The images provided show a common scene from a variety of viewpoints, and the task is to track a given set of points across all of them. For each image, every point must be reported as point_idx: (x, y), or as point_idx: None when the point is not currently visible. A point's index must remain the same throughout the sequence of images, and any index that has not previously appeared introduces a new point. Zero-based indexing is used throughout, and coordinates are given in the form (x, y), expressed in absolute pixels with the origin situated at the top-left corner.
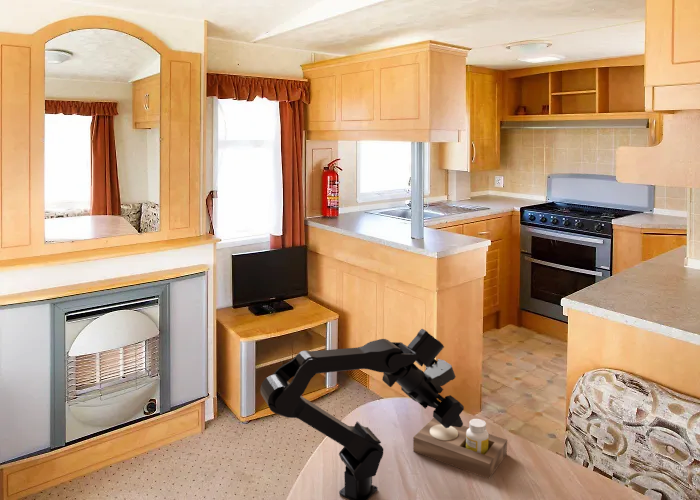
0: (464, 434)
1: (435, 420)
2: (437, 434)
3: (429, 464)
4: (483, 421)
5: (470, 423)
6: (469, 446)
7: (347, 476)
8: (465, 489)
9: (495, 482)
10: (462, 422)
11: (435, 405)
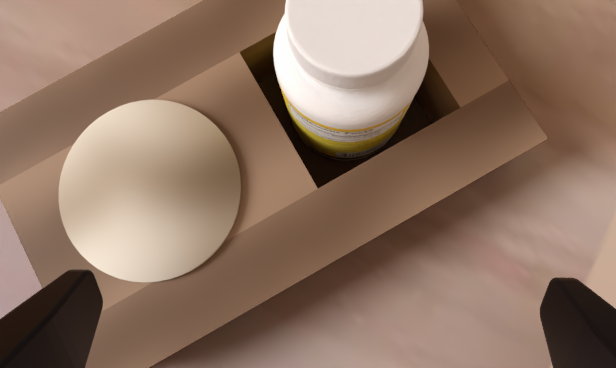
0: (227, 84)
1: (7, 153)
2: (153, 243)
3: (277, 358)
4: None
5: (333, 67)
6: (360, 141)
7: None
8: (530, 311)
9: (542, 144)
10: (604, 302)
11: (70, 362)
